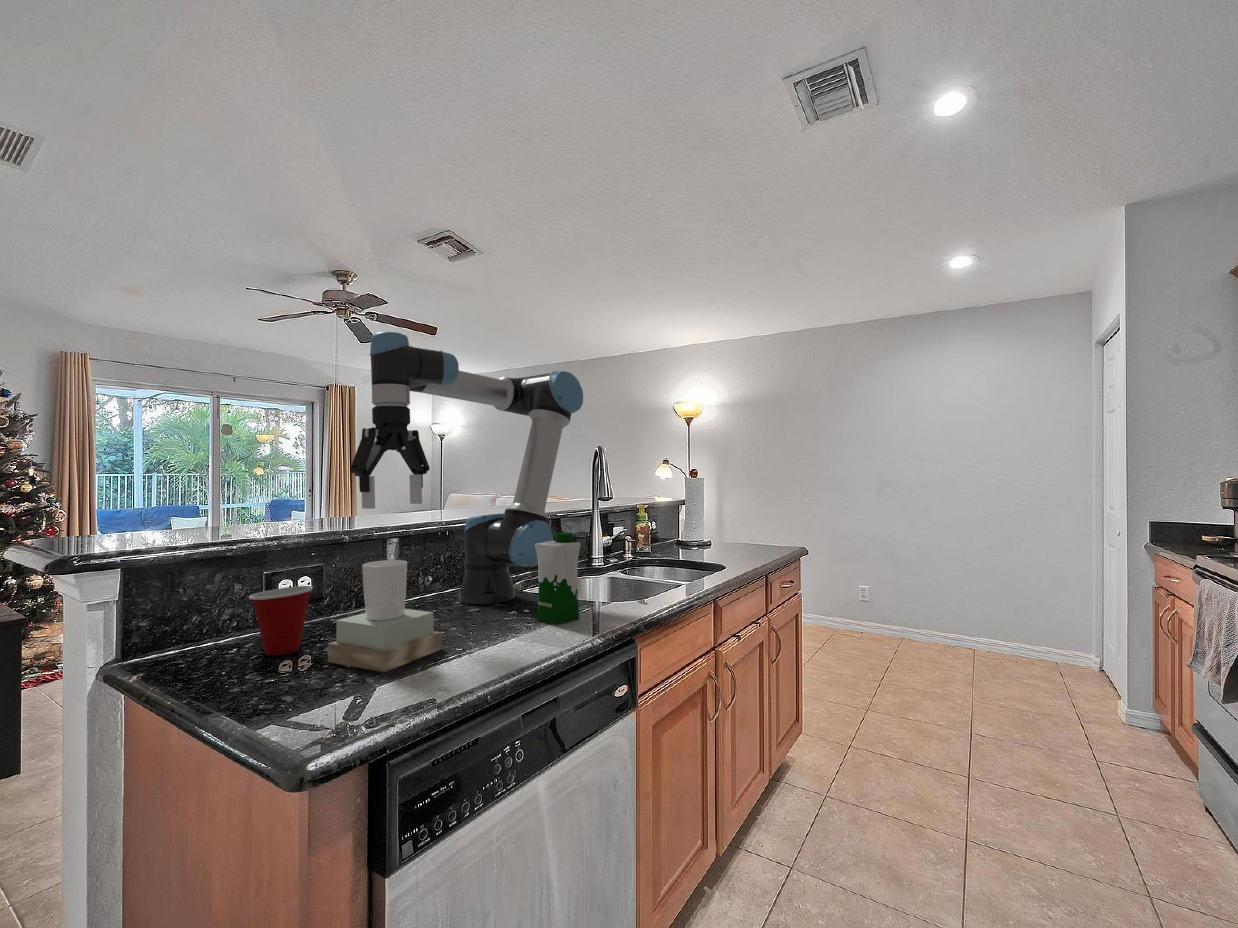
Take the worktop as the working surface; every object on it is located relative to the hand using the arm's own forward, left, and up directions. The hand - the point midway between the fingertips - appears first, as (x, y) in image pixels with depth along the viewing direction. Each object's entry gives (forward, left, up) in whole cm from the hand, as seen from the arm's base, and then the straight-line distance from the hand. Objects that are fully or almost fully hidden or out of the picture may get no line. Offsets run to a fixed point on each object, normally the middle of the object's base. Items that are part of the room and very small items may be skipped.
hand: (393, 506), depth 121 cm
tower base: (+11, +9, -28) cm, 31 cm away
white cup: (+11, +9, -20) cm, 25 cm away
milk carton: (-25, +26, -28) cm, 45 cm away
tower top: (+10, +9, -24) cm, 28 cm away
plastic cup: (+16, -12, -28) cm, 34 cm away
